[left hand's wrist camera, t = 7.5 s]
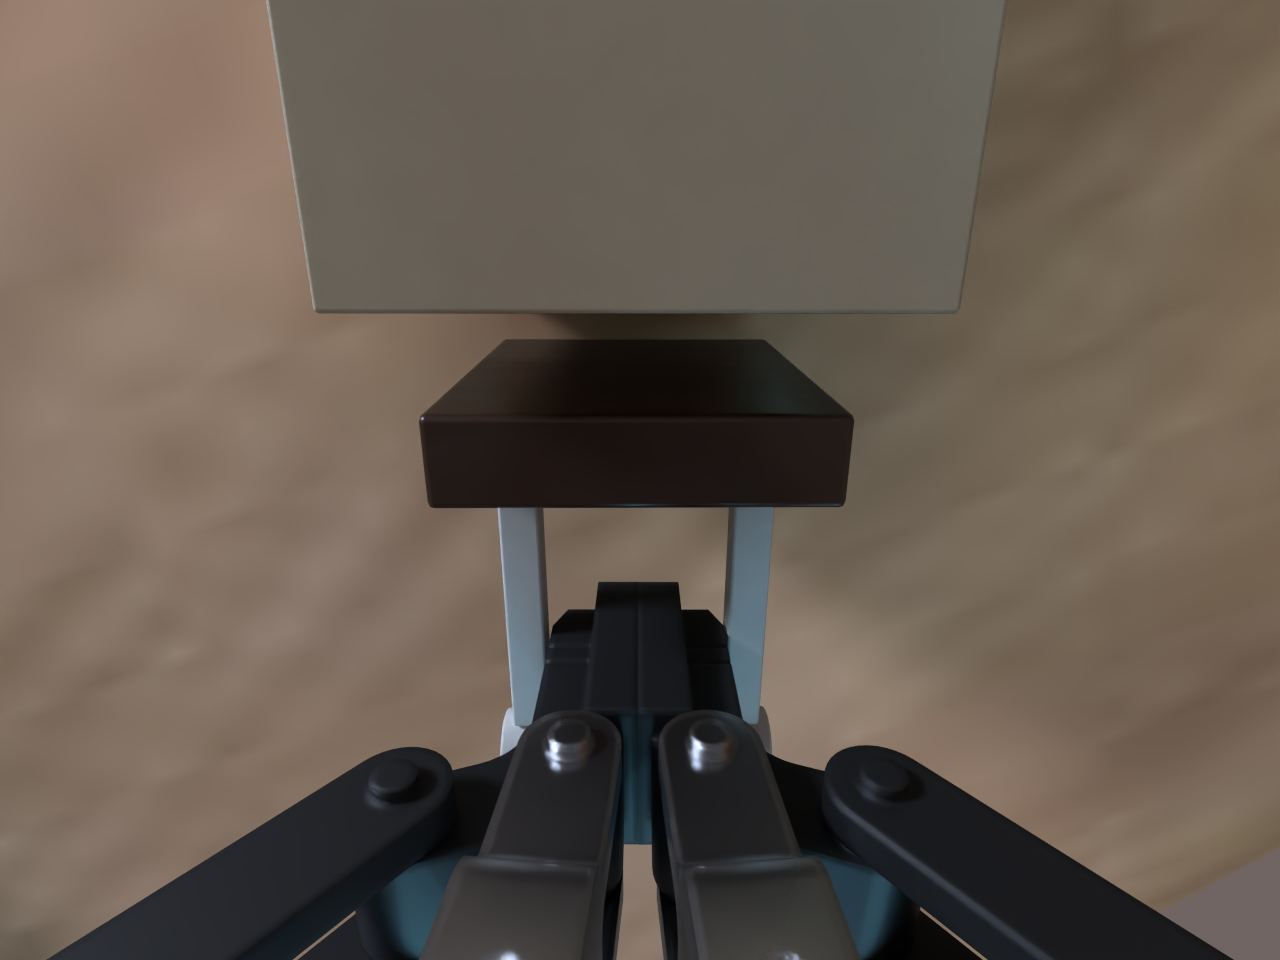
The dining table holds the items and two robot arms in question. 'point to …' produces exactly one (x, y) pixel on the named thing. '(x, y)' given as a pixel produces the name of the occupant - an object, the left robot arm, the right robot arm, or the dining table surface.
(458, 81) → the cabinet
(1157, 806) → the dining table surface
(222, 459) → the dining table surface
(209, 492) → the dining table surface
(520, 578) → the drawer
